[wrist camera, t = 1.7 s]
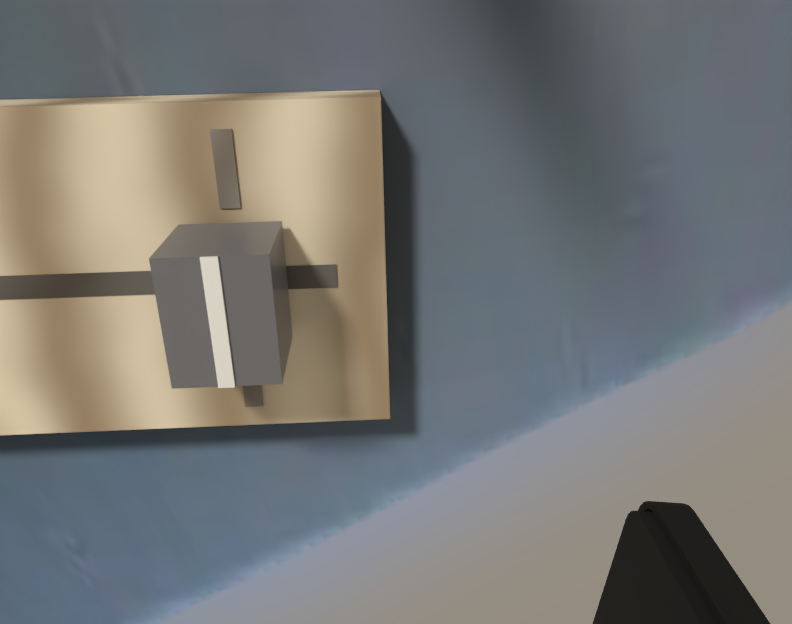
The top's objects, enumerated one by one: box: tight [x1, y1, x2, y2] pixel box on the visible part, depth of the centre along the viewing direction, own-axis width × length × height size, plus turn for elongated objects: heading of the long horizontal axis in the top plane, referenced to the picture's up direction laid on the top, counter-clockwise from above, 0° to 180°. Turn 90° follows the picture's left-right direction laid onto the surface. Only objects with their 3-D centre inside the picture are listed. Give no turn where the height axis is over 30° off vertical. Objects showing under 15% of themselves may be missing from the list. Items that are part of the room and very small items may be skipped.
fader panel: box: [0, 90, 390, 435], centre depth 29 cm, size 26×14×3 cm, turn 91°
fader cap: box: [149, 221, 293, 389], centre depth 26 cm, size 4×5×4 cm
